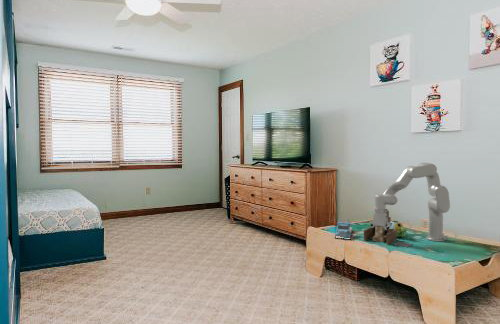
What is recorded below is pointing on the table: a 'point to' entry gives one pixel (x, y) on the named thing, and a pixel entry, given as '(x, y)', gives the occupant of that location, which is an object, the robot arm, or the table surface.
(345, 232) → the truck
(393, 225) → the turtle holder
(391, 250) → the table surface
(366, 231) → the slot stand
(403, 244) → the mat
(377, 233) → the maple block
